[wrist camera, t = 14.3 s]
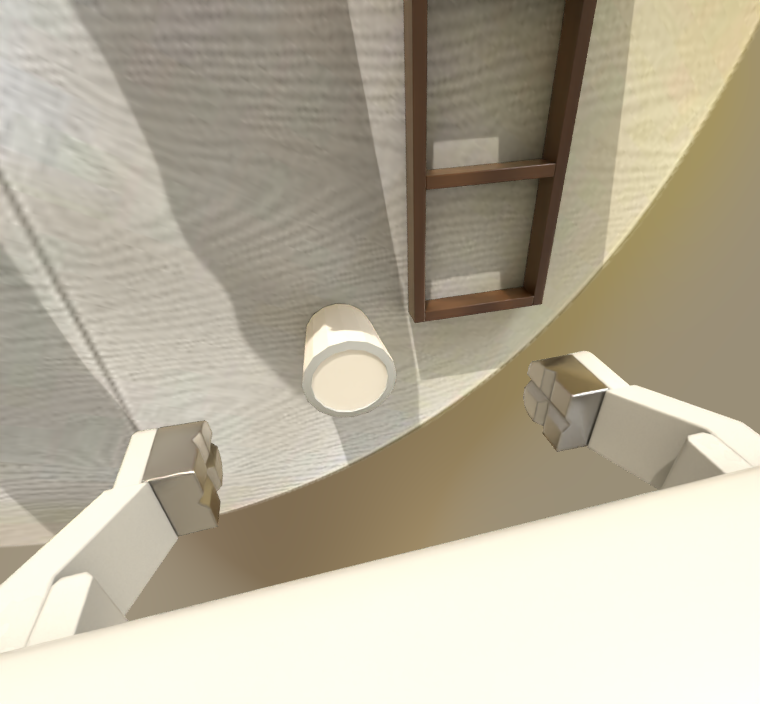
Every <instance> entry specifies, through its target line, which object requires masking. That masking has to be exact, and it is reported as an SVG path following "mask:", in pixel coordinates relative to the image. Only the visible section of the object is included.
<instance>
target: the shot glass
mask: <svg viewBox="0 0 760 704" xmlns="http://www.w3.org/2000/svg"><path fill="white" fill-rule="evenodd" d="M396 376H397V374H396V370H395V366H394V361H393V359H392V358H391V356H390V354H389V353H388V351H387V349H386V348H385V346H384V344H383V343H382V341H381V339H380V337H379V336H378V334H377V332H376V331H375V329H374V327H373V326H372V324H371V322H370V321H369V319H368V318H367V317H366V315H365V314H364V313H363V312H362V311H361V310H360V309H358V308H356V307H354V306H352V305H348V304H334V305H330V306H327V307H323V308H322V309H321V310H319V311H318V312H317V313H315V314H314V315H313V316H312V318H311V319H310V321H309V323H308V324H307V328H306V337H305V352H304V367H303V382H302V389H303V391H304V393H305V396H306V398H307V401H308V402H309V403H310V404H311V405H313V406H314V407H315V408H316V409H317V410H318V411H319V412H322V413H325V414H328V415H331V416H334V417H354V416H358V415H361V414H364V413H368V412H370V411H372V410H373V409H375V408H376V407H378V406H379V405H381V404H382V403H383V402H384V401H385V400H386V399H387V397H388V396H389V395H390V393H391V392H392V391H393V388H394V384H395V380H396Z"/></svg>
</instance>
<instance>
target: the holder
mask: <svg viewBox="0 0 760 704" xmlns="http://www.w3.org/2000/svg"><path fill="white" fill-rule="evenodd" d="M596 3H597V0H566V3H565V10H564V17H563V23H562V30H561V37H560V43H559V50H558V57H557V64H556V70H555V77H554V84H553V90H552V97H551V104H550V110H549V117H548V124H547V130H546V137H545V144H544V150H543V157H542V159H534V160H524V161H514V162H504V163H494V164H484V165H474V166H463V167H453V168H443V169H433V170H426V117H427V0H404V60H405V122H406V184H407V245H408V307H409V313H410V315H411V317H412V319H413V321H414V323H418V322H424V321H432V320H439V319H446V318H452V317H459V316H466V315H473V314H479V313H486V312H493V311H499V310H506V309H513V308H519V307H526V306H532V305H539V304H542V301H543V295H544V290H545V284H546V279H547V273H548V268H549V262H550V256H551V251H552V245H553V240H554V234H555V229H556V223H557V218H558V212H559V207H560V201H561V196H562V190H563V185H564V179H565V174H566V168H567V163H568V157H569V152H570V146H571V141H572V135H573V130H574V124H575V119H576V113H577V108H578V102H579V97H580V91H581V86H582V80H583V75H584V69H585V64H586V58H587V53H588V47H589V42H590V36H591V30H592V25H593V19H594V14H595V8H596ZM535 178H539V184H538V190H537V197H536V204H535V210H534V217H533V224H532V230H531V237H530V244H529V251H528V257H527V264H526V271H525V277H524V284H523V287H517V288H510V289H503V290H496V291H489V292H482V293H475V294H468V295H461V296H454V297H447V298H440V299H433V300H426V301H425V238H426V190H430V189H440V188H449V187H459V186H468V185H478V184H487V183H497V182H506V181H516V180H525V179H535Z"/></svg>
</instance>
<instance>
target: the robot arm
mask: <svg viewBox="0 0 760 704" xmlns="http://www.w3.org/2000/svg"><path fill="white" fill-rule="evenodd" d="M528 376H529V377H530V379H531V381H530V382H529V383H528V385H527V386H526V387H525V390H524V396H523V399H524V404H525V408H526V411H527V413H528V415H529V416H530V417H531V419H532V420H533V421H534V422H536V423H538V424H540V425H542V426H543V435H544V436H545V437H546V438H547V440H548V441H549V442H550V443H551V445H552V446H553V447H554V449H555V450H556V451H557V452H558V451H563V450H569V449H574V448H578V447H584V446H588V448H589V449H591V450H593V451H594V452H596V453H598V454H599V455H601V456H603V457H604V458H606V459H608V460H609V461H611V462H613V463H614V464H616V465H618V466H619V467H621V468H623V469H625V470H626V471H628V472H630V473H631V474H633V475H635V476H636V477H638V478H640V479H641V480H643V481H645V482H646V483H648V484H650V485H652V486H653V487H655V488H657V489H658V491H653V492H649V493H645V494H641V495H637V496H633V497H629V498H626V499H621V500H617V501H613V502H609V503H605V504H601V505H597V506H593V507H589V508H585V509H581V510H577V511H573V512H569V513H565V514H560V515H557V516H552V517H548V518H544V519H541V520H537V521H533V522H528V523H524V524H520V525H516V526H512V527H508V528H505V529H500V530H496V531H492V532H488V533H484V534H480V535H476V536H472V537H468V538H464V539H460V540H456V541H452V542H447V543H443V544H440V545H436V546H431V547H427V548H423V549H419V550H415V551H411V552H407V553H403V554H399V555H395V556H391V557H387V558H383V559H379V560H375V561H370V562H366V563H362V564H358V565H354V566H351V567H346V568H342V569H338V570H334V571H330V572H326V573H322V574H318V575H314V576H310V577H306V578H302V579H298V580H294V581H290V582H286V583H282V584H278V585H273V586H269V587H266V588H262V589H258V590H253V591H249V592H246V593H242V594H237V595H233V596H229V597H225V598H221V599H217V600H213V601H209V602H205V603H201V604H197V605H193V606H189V607H185V608H181V609H177V610H172V611H169V612H165V613H160V614H156V615H152V616H149V617H144V618H140V619H137V620H133V621H128V620H127V619H126V617H125V615H126V614H127V612H128V611H129V609H130V608H131V606H132V605H133V603H134V602H135V601H136V599H137V598H138V596H139V595H140V593H141V592H142V590H143V589H144V587H145V586H146V585H147V583H148V582H149V580H150V579H151V577H152V576H153V574H154V573H155V572H156V570H157V569H158V567H159V566H160V564H161V563H162V561H163V560H164V558H165V557H166V556H167V554H168V553H169V551H170V550H171V548H172V547H173V546H174V544H175V543H176V541H177V540H178V536H182V535H185V534H190V533H194V532H198V531H202V530H205V529H210V528H214V527H218V519H219V510H220V499H219V497H218V494H217V491H218V490H219V489H220V487H221V486H222V479H223V471H222V461H221V456H220V453H219V450H218V447H217V446H216V445H214V444H212V443H211V438H212V431H211V429H210V426H209V424H208V422H207V421H205V420H204V421H197V422H191V423H185V424H179V425H172V426H166V427H160V428H155V429H149V430H143V431H137V432H136V433H134V434H133V435H132V437H131V439H130V442H129V445H128V447H127V450H126V453H125V456H124V458H123V461H122V464H121V467H120V469H119V472H118V475H117V478H116V480H115V483H114V486H113V489H110V490H105V491H104V492H103V493H102V494H101V495H100V496H98V497H97V498H96V499H95V500H94V501H93V502H92V503H91V504H90V505H89V506H87V507H86V508H85V509H84V510H83V511H82V512H81V513H80V514H79V515H77V516H76V517H75V518H74V519H73V520H72V521H71V522H70V523H69V524H68V525H66V526H65V527H64V528H63V529H62V530H61V531H60V532H59V533H58V534H57V535H55V536H54V537H53V538H52V539H51V540H50V541H49V542H48V543H47V544H45V545H44V546H43V547H42V548H41V549H40V550H39V551H38V552H37V553H36V554H34V555H33V557H31V558H30V559H29V560H28V561H27V562H26V563H25V564H23V565H22V566H21V567H20V568H19V569H18V570H17V571H16V572H15V573H14V574H12V575H11V576H10V577H9V578H8V579H7V580H6V581H5V582H3V583H2V584H1V585H0V704H760V435H759V434H757V433H756V432H755V431H753V430H752V429H751V428H749V427H748V426H747V425H745V424H744V423H742V422H740V421H737V420H734V419H731V418H729V417H725V416H723V415H720V414H717V413H714V412H711V411H708V410H706V409H703V408H700V407H697V406H694V405H691V404H688V403H686V402H683V401H680V400H677V399H674V398H671V397H668V396H665V395H663V394H660V393H657V392H654V391H651V390H648V389H645V388H642V387H640V386H637V385H633V386H630V385H628V384H627V383H626V382H625V381H624V380H622V379H621V378H620V377H619V376H618V375H617V374H615V373H614V372H613V371H612V370H611V369H610V368H608V367H607V366H606V365H605V364H604V363H602V362H601V361H600V360H599V359H598V358H597V357H595V356H594V355H593V354H592V353H590V352H588V351H581V352H576V353H571V354H567V355H563V356H559V357H553V358H548V359H542V360H537V361H532V363H531V364H530V365H529V369H528Z"/></svg>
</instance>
